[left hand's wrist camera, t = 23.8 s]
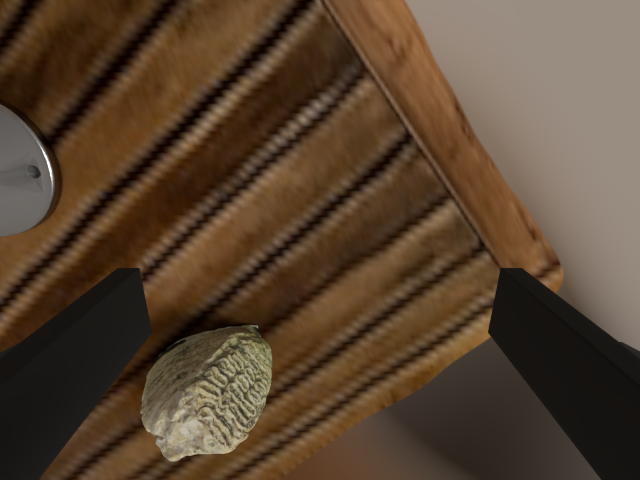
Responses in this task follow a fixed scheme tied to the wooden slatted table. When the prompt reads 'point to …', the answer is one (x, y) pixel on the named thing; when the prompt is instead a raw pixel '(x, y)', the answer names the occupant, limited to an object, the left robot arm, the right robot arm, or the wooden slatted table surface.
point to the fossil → (207, 391)
